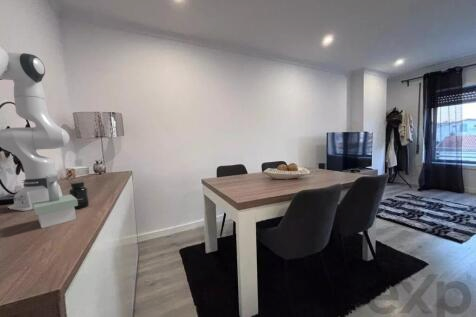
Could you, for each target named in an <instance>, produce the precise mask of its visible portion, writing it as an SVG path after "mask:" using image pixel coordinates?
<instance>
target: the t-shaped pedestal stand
mask: <svg viewBox="0 0 476 317" xmlns="http://www.w3.org/2000/svg"><path fill="white" fill-rule="evenodd" d="M56 175H57V174H56ZM56 175H54V174H50V175H46V180H47V188H48V194H49V199H44V200H39V201H34V202H32V205H33V209H32V210H33V211H34V214H35V216H38V215H39V214H43V213H48V212H52V211H57V210H61V209H65V208H70V207H74V206H78V202H77V199H76V198H75V197H74V196H72V195H69V194H65V195H62V196H60V197H59V191H58V185H59V183H58V182H57V178H58V175H57V176H56ZM57 183H58V184H57Z"/></svg>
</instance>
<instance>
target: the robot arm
mask: <svg viewBox="0 0 476 317" xmlns="http://www.w3.org/2000/svg"><path fill="white" fill-rule="evenodd" d="M45 74H46V68H45V65H44V62H42V60H41V59H40V58H39V57H37V55H34V54H32V53H25V52H24V53H20V52H19V53H18V52H6V50H5V49H4V48H3V47H2V46H0V81H1V80H8V81H12V82H13V98H14V107H15V108H14V109H15V112H16V115H17V116H18V117H19V118H21V119H24V120H26V121H29V122H32V123H34V125H35V126H33V127H26V126H25V127H10V128H3V129H0V148H1V149H3V150H5V151H7V152H10V153H11V154H13V155H14V156H16V157H17V159H18V160H19V161H20V163H21V165H22V169H23V171H24V176H25V178H24V179H23V180H22V181H21V183H22V184H23V187H22V188H20V190H19V191H18V192H16V193H15V194H14V196H13V204H11V205H9V206H7V209H8V208H9V210H15V211H21V212H22V211H23V212H24V211H31V210H33V205H32V202H34V201H39V200H44V199H49V194H48V188H47V180H46V175H50V174H54V175H56V176H57V184H58V191H59V197H60V196H63V193H62V189H61V186H60V184H59V183H58V182H59V177H58V175H57V173H56V172H57V171H56V166H55V165H56V164H55V162H54V160H53V159H51V158H49V157H47V156H44V155H40V154H38V152H37V151H39V150H54V149H61V148H64V147H67V145H69V142H70V139H71V138H70V134H69V133H68V131H66V129H64V128H62V127H61V126H59V125H57V124H56V123H55V122H54V121H53V119H52V118H51V116H50V114H49V111H48V110H49V109H48V103H47V97H46V92H45V89H44V86H43V83H42V81H43V78H44V77H45ZM3 169H4V168H3V167H2V166H0V173H2V171H3Z"/></svg>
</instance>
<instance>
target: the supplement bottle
mask: <svg viewBox="0 0 476 317" xmlns="http://www.w3.org/2000/svg"><path fill="white" fill-rule="evenodd" d="M70 187H71V188H70V189H69V190H68V195H72V196H74V197H75V198H76V199H77V202H78V206H74V208H75V210H80V209H84V208H87V207H88V206H89V205H90V203H89V192H88V188H87V187H86V186H85V182H84V181H75V182H71V183H70Z"/></svg>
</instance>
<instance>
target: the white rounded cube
mask: <svg viewBox="0 0 476 317" xmlns="http://www.w3.org/2000/svg"><path fill="white" fill-rule="evenodd" d="M37 218H38V223H39V226H40V227H41V229H43V228H48V227H52V226H56V225H59V224H62V223H66V222H67V223H68V222H70V221H74V220H77V217H76V209H75V208H74V207H70V208H65V209H61V210H57V211H52V212H48V213H43V214H39V215H37Z"/></svg>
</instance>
